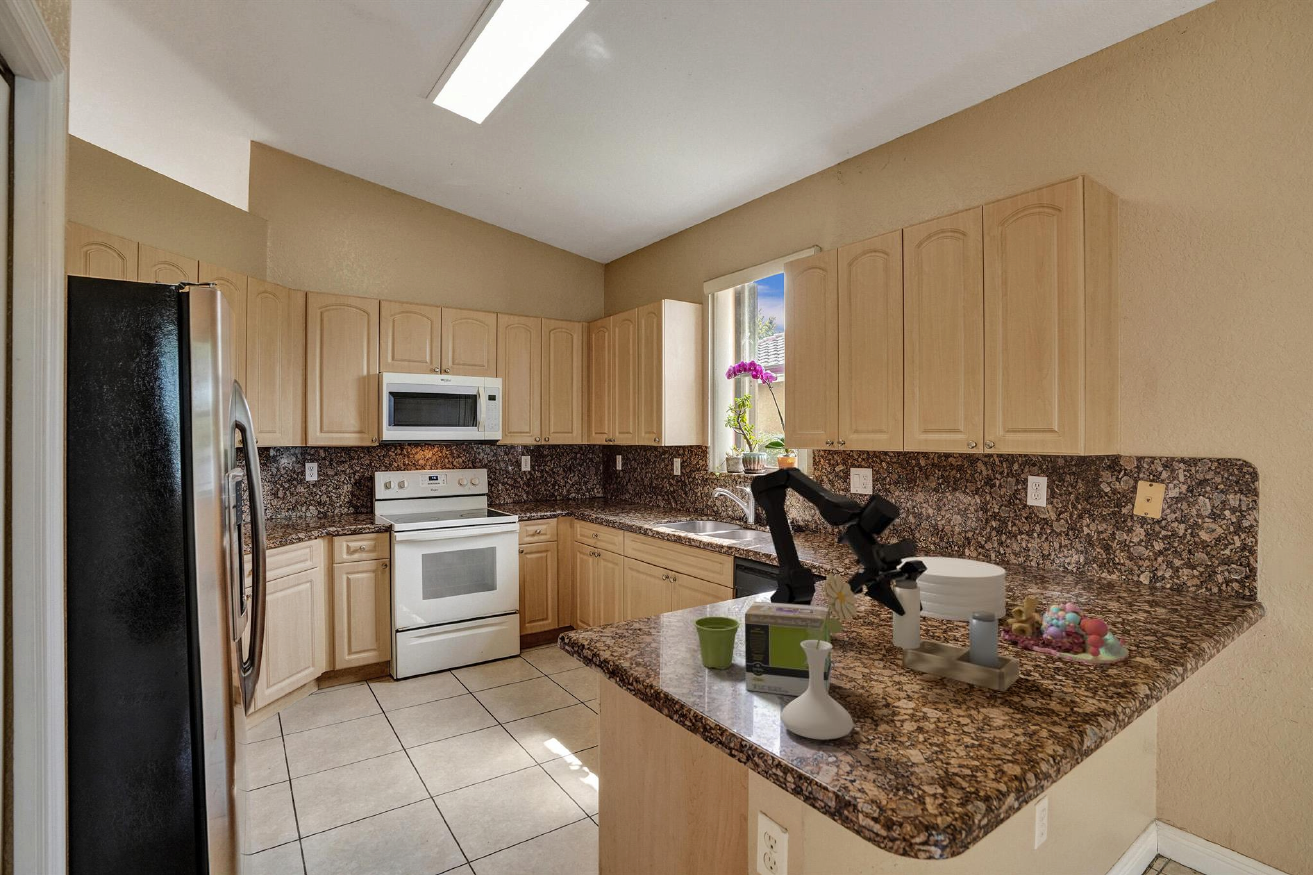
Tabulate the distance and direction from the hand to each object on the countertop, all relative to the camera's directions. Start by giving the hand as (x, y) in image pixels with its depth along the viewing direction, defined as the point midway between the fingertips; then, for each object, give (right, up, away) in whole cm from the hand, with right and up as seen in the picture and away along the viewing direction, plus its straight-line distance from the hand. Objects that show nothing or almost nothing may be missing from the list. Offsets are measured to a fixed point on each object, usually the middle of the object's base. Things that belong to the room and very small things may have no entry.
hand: (912, 612), depth 127 cm
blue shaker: (+14, -12, -1) cm, 19 cm away
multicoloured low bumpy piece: (+43, -13, +21) cm, 49 cm away
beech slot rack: (+10, -12, +2) cm, 16 cm away
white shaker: (-1, -7, +1) cm, 7 cm away
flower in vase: (-24, -13, -23) cm, 36 cm away
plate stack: (+31, -13, +52) cm, 62 cm away
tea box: (-25, -13, -5) cm, 29 cm away
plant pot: (-38, -13, +7) cm, 41 cm away
